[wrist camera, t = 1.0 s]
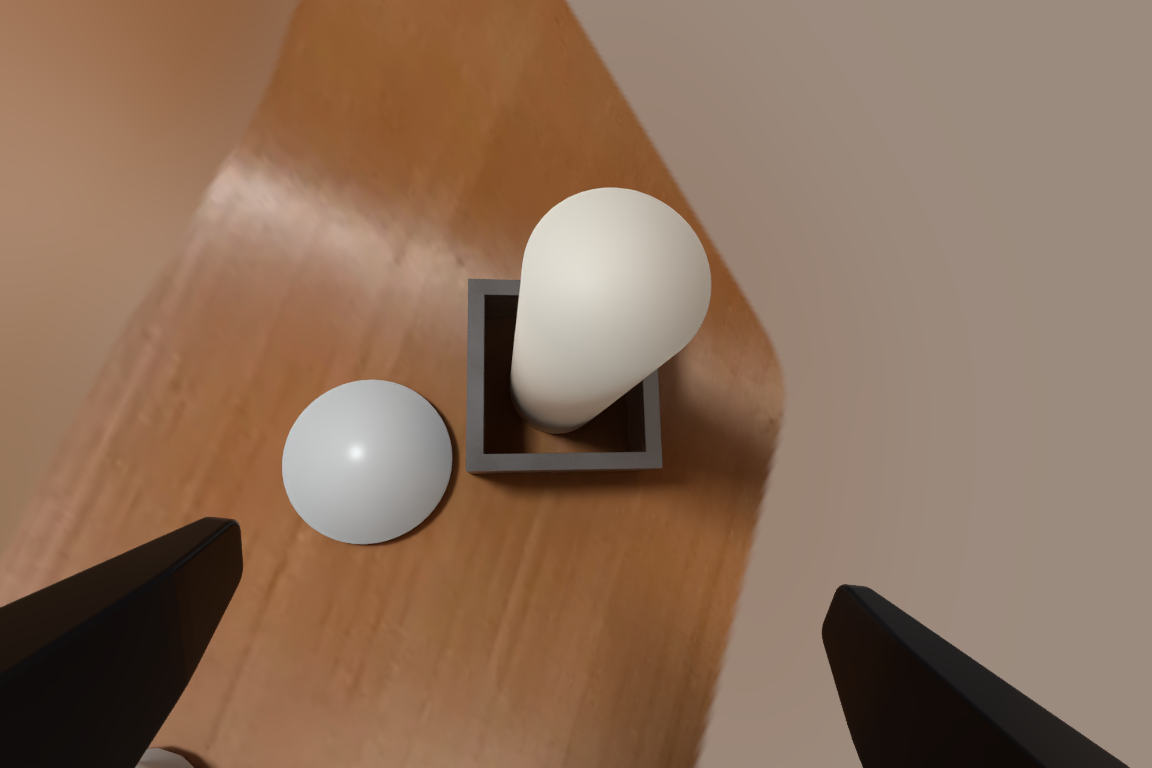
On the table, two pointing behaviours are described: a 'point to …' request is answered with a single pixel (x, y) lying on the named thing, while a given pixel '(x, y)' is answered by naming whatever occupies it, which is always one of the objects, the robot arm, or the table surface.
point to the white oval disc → (367, 462)
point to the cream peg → (602, 304)
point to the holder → (642, 453)
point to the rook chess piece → (162, 760)
